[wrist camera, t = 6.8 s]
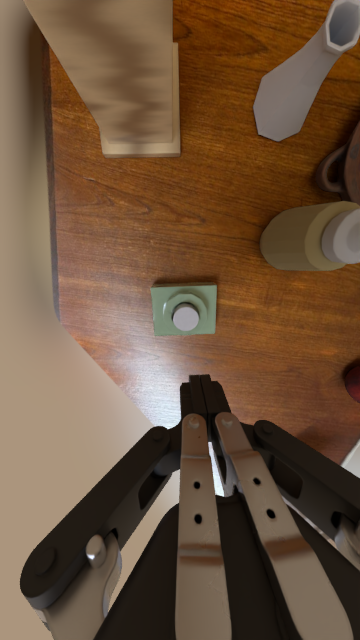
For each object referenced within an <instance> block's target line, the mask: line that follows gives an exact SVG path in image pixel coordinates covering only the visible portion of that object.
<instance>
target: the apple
mask: <svg viewBox="0 0 360 640" xmlns="http://www.w3.org/2000/svg"><path fill="white" fill-rule="evenodd" d="M345 387H346V390H347V392H348V393H349V395H350V396H351V397H352V398H353V399H354V400H355V401H357V402H358V403H360V366H358V367H355V368H353V369H352V370H351V371H349V372H348V374H347V375H346V378H345Z"/></svg>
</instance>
